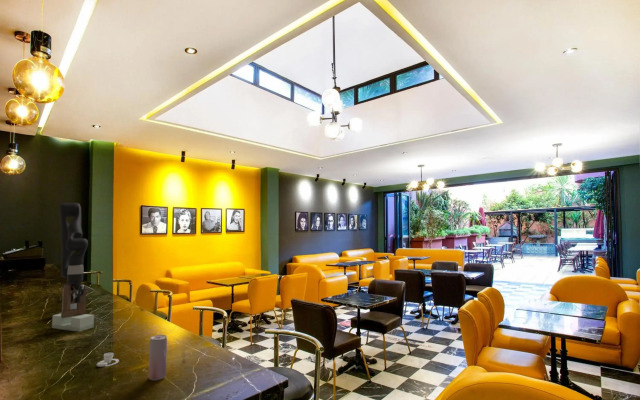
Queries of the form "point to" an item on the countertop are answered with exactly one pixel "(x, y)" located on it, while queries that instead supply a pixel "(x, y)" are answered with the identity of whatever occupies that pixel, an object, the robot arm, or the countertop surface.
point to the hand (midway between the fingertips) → (73, 302)
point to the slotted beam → (73, 322)
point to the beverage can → (157, 357)
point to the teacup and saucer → (107, 360)
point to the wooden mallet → (67, 301)
